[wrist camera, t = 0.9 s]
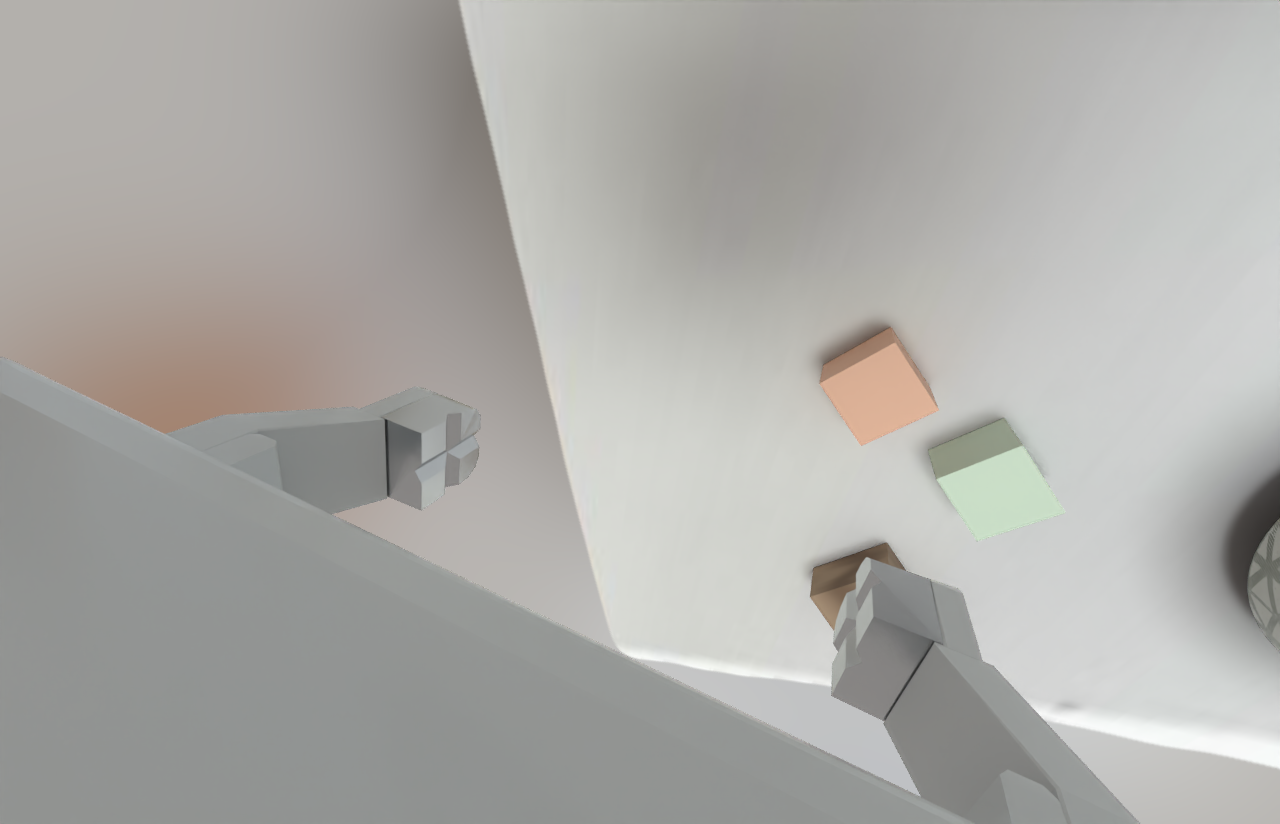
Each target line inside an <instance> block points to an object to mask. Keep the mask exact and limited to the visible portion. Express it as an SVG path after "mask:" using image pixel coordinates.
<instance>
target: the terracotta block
mask: <svg viewBox="0 0 1280 824" xmlns="http://www.w3.org/2000/svg"><path fill="white" fill-rule="evenodd" d="M819 384H820V385H821V387H822V388H823V390H824V391H825V393H826V394H827V396H828V397H829V399H830V400H831V402H832V403H833V405H834V406H835V408H836V409H837V411H838V412H839V414H840V415H841V417H842V418H843V420H844V421H845V423H846V424H847V426H848V427H849V429H850V430H851V432H852V433H853V435H854V436H855V438H856V439H857V441H858V442H859V444H860V445H861V446H862V445H864V444H866V443H869V442H871V441H873V440H875V439H877V438H880V437H882V436H884V435H886V434H888V433H890V432H893V431H895V430H897V429H899V428H901V427H904V426H906V425H908V424H910V423H912V422H914V421H917V420H919V419H921V418H923V417H925V416H928V415H930V414H932V413H934V412H936V411H938V410H939V409H938V407H937V404H936V401H935V399H934V396H933V394H932V391H931V389H930V387H929V385H928V384H927V382H926V381H925V379H924V377H923V376H922V374H921V373H920V371H919V370H918V368H917V367H916V365H915V364H914V362H913V360H912V359H911V357H910V356H909V354H908V353H907V351H906V350H905V348H904V347H903V345H902V343H901V342H900V340H899V339H898V337H897V336H896V334H895V333H894V331H893V330H892V328H891V327H890V328H888V329H886V330H885V331H883V332H881V333H879V334H877V335H876V336H874V337H872V338H870V339H869V340H867V341H865V342H863V343H861V344H860V345H858V346H856V347H854V348H853V349H851V350H849V351H847V352H845V353H844V354H842V355H840V356H838V357H837V358H835V359H833V360H831V361H829V362H828V363H826V364H824V365H823V369H822V374H821V379H820V383H819Z"/></svg>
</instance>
